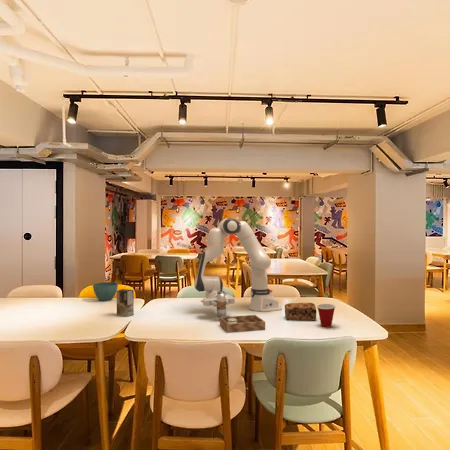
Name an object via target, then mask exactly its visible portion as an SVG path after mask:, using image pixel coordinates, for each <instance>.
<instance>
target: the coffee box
mask: <svg viewBox="0 0 450 450" xmlns="http://www.w3.org/2000/svg"><path fill="white" fill-rule="evenodd" d="M134 305H135V304H134V289H124V288H122V289H117V291H116V316H118V315H119V316H120V317H126V316H128V317H131V316H134V312H135V311H134ZM119 316H118V317H119Z"/></svg>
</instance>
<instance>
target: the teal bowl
mask: <svg viewBox="0 0 450 450" xmlns="http://www.w3.org/2000/svg"><path fill="white" fill-rule="evenodd" d="M118 286H119V284H118V282H113V281H105V282H98V283H93V284H92V288H93V292H94V295H95V296H96V298H97V299H98V300H99V301H100V302H108V301H112V299H114V297H115V295H117V291H118Z"/></svg>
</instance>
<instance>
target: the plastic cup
mask: <svg viewBox="0 0 450 450" xmlns="http://www.w3.org/2000/svg"><path fill="white" fill-rule="evenodd" d="M316 309H317V312H318V315H319V321H320V326H321V327H322V328H331V327H332V324H333V320H334V314H335V313H334V312H335V309H336V305H335V304H332V303H320V304H319V303H318V304H317V305H316Z"/></svg>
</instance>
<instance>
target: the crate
mask: <svg viewBox="0 0 450 450" xmlns="http://www.w3.org/2000/svg"><path fill="white" fill-rule="evenodd" d="M229 318H235V319H237V323H233V324H228V319H229ZM219 325H220V327H221V328H222V329H223V330H224V331H225V332H226V333H238V332H253V331H265V330H266V321H265V320H263V319H262V318H261V317H259V316H257V315H256V314H250V315H249V314H248V315H234V316H225V317H219Z"/></svg>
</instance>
